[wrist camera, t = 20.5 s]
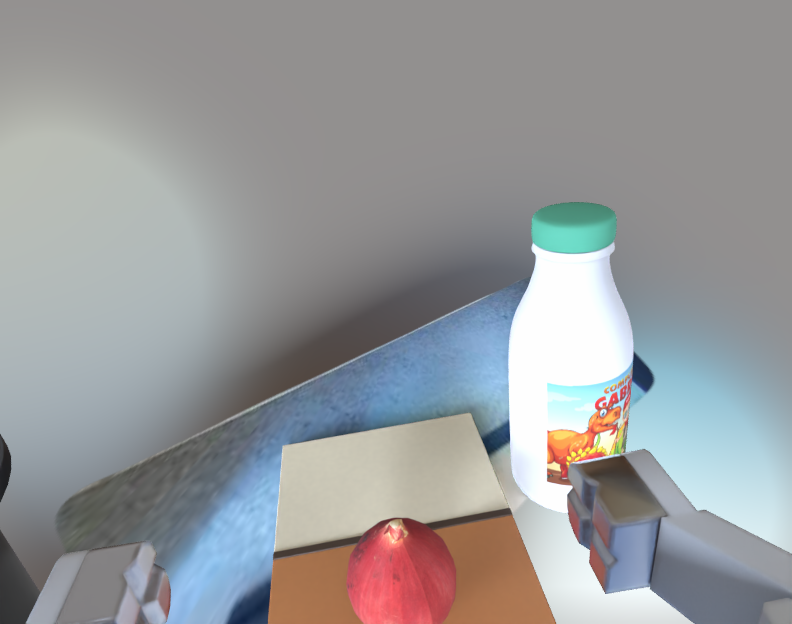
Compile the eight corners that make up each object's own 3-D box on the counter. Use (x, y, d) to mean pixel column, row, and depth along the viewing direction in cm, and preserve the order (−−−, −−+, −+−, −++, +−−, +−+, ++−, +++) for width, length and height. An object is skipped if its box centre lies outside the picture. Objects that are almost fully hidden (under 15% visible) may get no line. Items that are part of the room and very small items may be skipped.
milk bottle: (502, 505, 38) (491, 236, 29) (519, 433, 45) (515, 192, 35) (621, 527, 36) (651, 237, 26) (622, 447, 42) (646, 190, 33)
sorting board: (260, 759, 27) (256, 749, 26) (284, 452, 46) (282, 444, 46) (579, 691, 28) (580, 681, 27) (471, 419, 47) (470, 410, 47)
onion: (338, 648, 30) (311, 549, 26) (386, 563, 35) (368, 467, 31) (436, 693, 28) (421, 590, 24) (474, 594, 32) (466, 495, 28)
